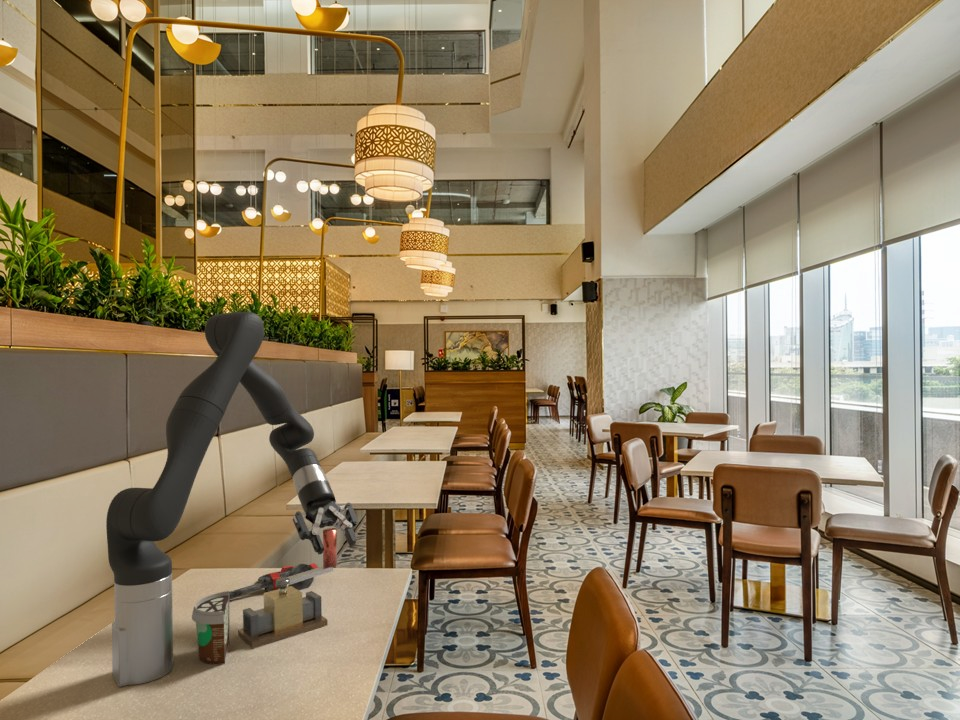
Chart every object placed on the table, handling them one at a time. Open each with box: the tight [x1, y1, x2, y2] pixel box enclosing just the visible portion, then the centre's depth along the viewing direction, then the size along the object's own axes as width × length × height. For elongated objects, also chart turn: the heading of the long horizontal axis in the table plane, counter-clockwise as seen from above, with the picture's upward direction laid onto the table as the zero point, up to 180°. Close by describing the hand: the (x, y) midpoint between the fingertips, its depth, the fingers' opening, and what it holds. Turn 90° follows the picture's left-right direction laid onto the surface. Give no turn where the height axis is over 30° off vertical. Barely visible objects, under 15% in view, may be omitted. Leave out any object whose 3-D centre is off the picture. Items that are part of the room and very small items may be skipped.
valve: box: [229, 562, 320, 599], centre depth 153 cm, size 6×26×15 cm
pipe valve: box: [237, 585, 329, 649], centre depth 127 cm, size 16×8×9 cm, turn 131°
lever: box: [276, 527, 338, 588], centre depth 132 cm, size 15×3×9 cm, turn 140°
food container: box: [191, 590, 231, 665], centre depth 117 cm, size 12×6×10 cm, turn 18°
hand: (337, 548), depth 134 cm, fingers open, 7 cm apart
